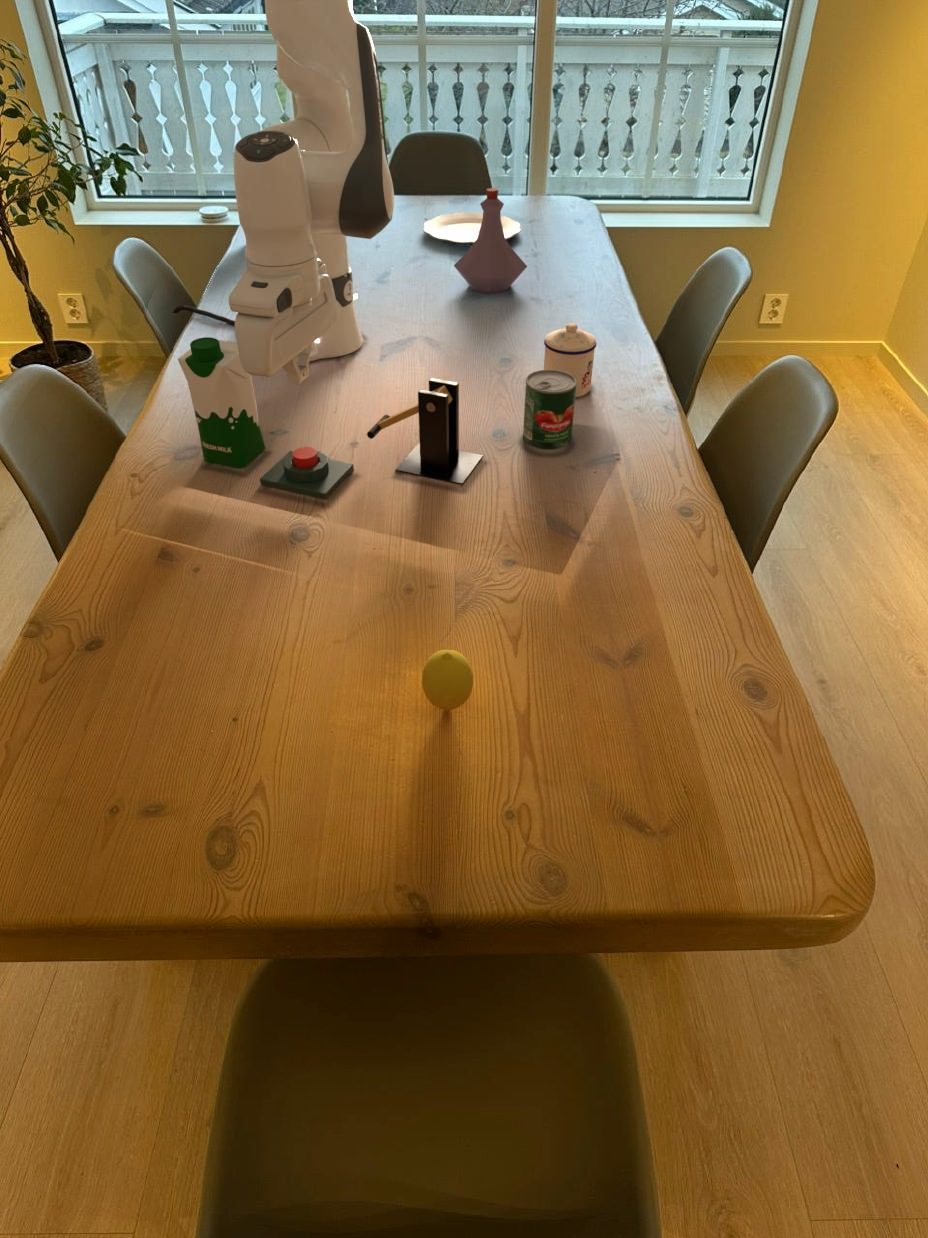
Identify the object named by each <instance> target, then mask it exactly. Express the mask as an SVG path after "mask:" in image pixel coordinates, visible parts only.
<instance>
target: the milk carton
mask: <svg viewBox="0 0 928 1238" xmlns="http://www.w3.org/2000/svg"><path fill="white" fill-rule="evenodd" d="M189 346H190V348H189V349H188V350H187V351H186V352H185V353H183V354H181V355H180V356H179V357H178V358H177V361H178V364H179V366H180V368H181V371H182V372H183V375H184V377H185V380H186V381H187V385H188V389H189V390H188V391H189V394H190V399H191V403H192V407H193V412H194V416H195V421H196V426H197V429H198V434H199V440H200V445H201V450H202V456H203V461H204V463H208V464H213V465H218V466H223V467H229V468H233V469H238V470H242V469H245V468H247V467H248V466H249V465H250V464H251V463H252V462H254V460H255V459H256V458H257V457H259V456H260V455H261V454H262V453H263V452H264V450H266V444H265V441H264V436H263V433H262V429H261V425H260V419H259V413H258V408H257V401H256V400H257V399H256V394H255V390H254V384H253V383H254V382H253V378H252V377H253V375H251V374H248V373H247V372H246V371H245V370H244V368H243V367H242V364H241V361H240V356H239V351H238V346H237V341H236V342H235V341H227V340H222V339H217V338H216V337H209V336H208V337H207V336H206V337H199V338H196V339H193V340H192V341H191V342H190V344H189Z"/></svg>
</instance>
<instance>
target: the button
mask: <svg viewBox="0 0 928 1238" xmlns="http://www.w3.org/2000/svg"><path fill="white" fill-rule="evenodd" d="M292 451H293V453H292V455H293V462H294V466H295V467H298V468H310V467H313V466H316V465H317V464H318V457H317V451H318V450H317V449H316V448H314V447H311V446H301V447H298V448H297V447H296V449H294V450H292Z"/></svg>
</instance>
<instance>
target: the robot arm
mask: <svg viewBox="0 0 928 1238" xmlns="http://www.w3.org/2000/svg"><path fill="white" fill-rule="evenodd" d="M264 9H265V10H264V11H265V19H266V24H267V27H268V30H269V32H270V35H271V37H272V39H273V40H274V41H275V43H276V73H277V77H278V79H279V81H280V82H281V83H282V85H283V86H284V87H285V89H287V90H288V91H289V92H291V93H292V94H293V95H294V98H295V103H296V116H295V118H294V119H293V120H289V121H285V122H280V123H276V124H273V125H269V126H266V127H265V128H263V129H261V130H259V131H257V132H253V133H250V134H247V135H245V136H244V137H242V138H241V139H240V140H239V141H237V142H236V144H235V146H234V149H233V181H234V193H235V201H236V207H237V214H238V219H239V224H240V227H241V228H242V230H243V231H242V232H243V233H244V236H245V250H244V251H245V252H244V256H245V262H246V268H244V270H243V271H242V274H241V277H240V278H239V280H238V281H237V283H236V285H235V286H234V288H233V289H232V290H231V292H230V293H229V295H228V305H229V309H230V311H231V312H234V313H237V314H236V316H235V320H233V319H230V318H228V317H225V316H223V315H218V314H215V313H213V312H210V311H207V310H204V309H199V308H197V307H193V306H190V305H186V304H185V305H183V304H182V305H181V304H180V305H178V306H176V307H175V308H174V309H173V310H172V313H173V314H178V313H180V312H181V311H187V312H188V311H189V312H191V313H194V314H197V315H201V316H205V317H208V318H211V319H214V320H217V321H219V322H223V323H226V324H228V325H231V326H234V333H235V341H236V343H237V346H238V351H239V356H240V361H241V364H242V367H243V368H244V370H245V371H246V372H247V373H248V374H251V375H252V376H258V377H263V378H270V377H271V376H272V375H274V374H275V373H276V372H278V371H279V370H280V369H282V368H283V370H284V371H285V372H286V379H287V383H289V384H290V385H295V386H299V385H300V384H301V383H302V382H303V381H304V380H306V379H307V378H308V377H309V376H310V370H309V364H310V362H314V361H317V360H322V359H330V358H337V357H343V356H347V355H349V354H352V353H353V352H356V351H358V350H359V349H360V348H361V347H362V346H363V344H364V342H365V341H364V338H363V335H362V332H361V329H360V326H359V324H358V319H357V315H356V310H355V305H354V300H357V299H359V298H358V293H354V283H353V282H354V281H353V273H352V268H351V267H350V264H349V263H350V262H349V251H348V239H347V237H350V238H359V239H365V240H366V239H367V240H371V239H373V238H374V237H376V236H377V235H378V234H380V233H381V232H382V231H383V230H384V229H385V228H386V227H387V226H388V225H389V224H390V222H391V221H392V219H393V215H394V209H395V191H394V183H393V179H392V176H391V170H390V167H389V159H388V151H387V140H386V130H385V120H384V110H383V100H382V98H383V97H382V90H381V81H380V74H379V65H378V59H377V54H376V51H375V49H376V48H375V46H374V42H373V38H372V36H371V34H370V32H369V29H368V27H367V26H365V25H363V24H361V23H360V22H359V21H357V19H356V17H355V14H354V10H353V0H264Z"/></svg>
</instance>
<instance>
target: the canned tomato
mask: <svg viewBox="0 0 928 1238" xmlns="http://www.w3.org/2000/svg"><path fill="white" fill-rule="evenodd" d="M576 384H577V381H576V379H575V377H574V376H572V375H571V374H569V373H566V372H563V371H559V370H544V369H540V370H539V369H538V370H536V371H533V372H531V373H529V374H528V375H526V378H525V388H524V389H525V391H524V393H525V394H524V408H523V409H524V410H523V411H524V412H523V428H522V429H523V431H522V438H523V441H524V442H525V443H526V444H527V445H529V446H531V447H534V448H536V449H541V450H556V449H561V448H565V446H567V445H569V444H570V443H571V441H572V435H573V434H572V433H573V424H574V423H573V422H574V414H575V404H576V403H575V402H576V397H575V394H576Z"/></svg>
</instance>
